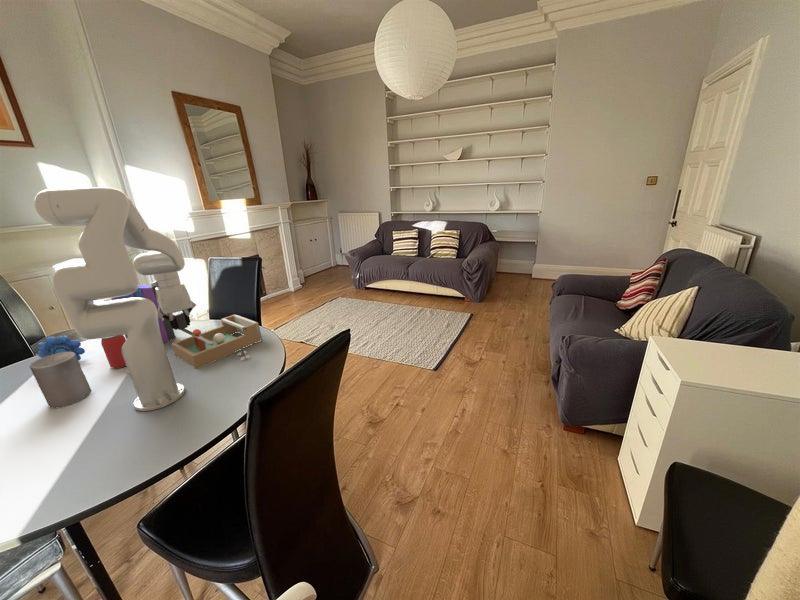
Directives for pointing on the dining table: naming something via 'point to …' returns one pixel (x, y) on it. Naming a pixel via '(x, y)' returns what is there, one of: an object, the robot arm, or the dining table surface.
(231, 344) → the pitch
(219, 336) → the ball
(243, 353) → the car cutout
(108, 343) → the beer can
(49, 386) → the pillar candle
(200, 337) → the striker
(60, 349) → the grapes
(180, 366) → the dining table surface
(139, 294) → the cereal box
